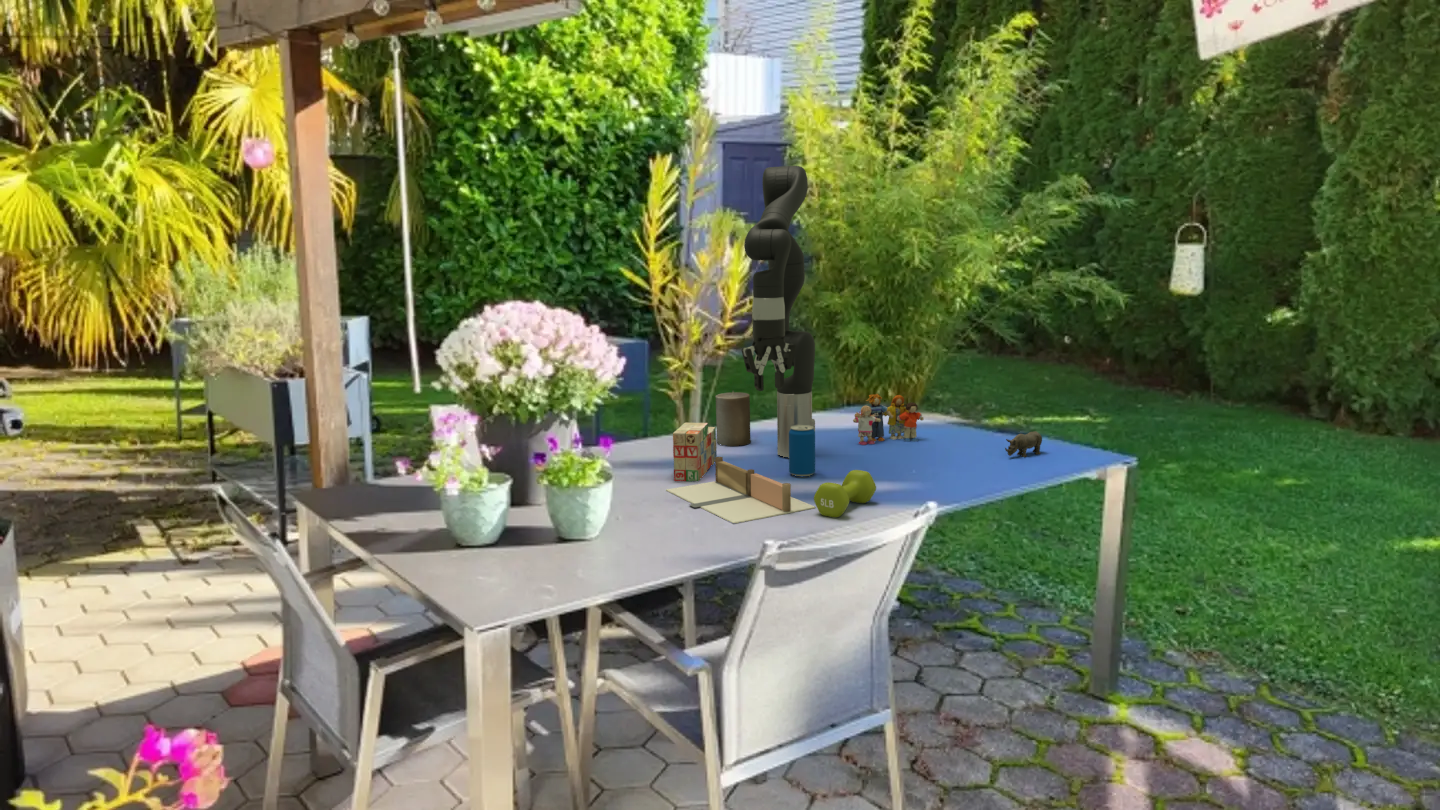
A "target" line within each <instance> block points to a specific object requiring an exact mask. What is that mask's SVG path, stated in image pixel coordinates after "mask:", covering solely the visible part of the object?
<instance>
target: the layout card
mask: <svg viewBox="0 0 1440 810" xmlns="http://www.w3.org/2000/svg"><path fill="white" fill-rule="evenodd" d="M730 489H731V490H730ZM665 492H668V493H670V494H671V495H674V496H676V497H678V498H680V499H682V500H683V501H686V502H688V503H690V504H689V506H690V507H692V508H701V509H702V510H705V511H706V512H708V513H710V514H712V515H714V514H715V515H714V516H716V515H717V516H716V517H718V516H719V518H720V517H721V519H722V518H723V520H724V519H725V521H726V520H727V522H728V521H730V522H732V523H736V524H740V523H739V522H741V523H745V521H746V522H750V521H756V520H761V519H766V518H772V517H776V516H777V517H778V516H782V515H787V514H792V513H798V512H802V511H808V510H813V509H816V505H815V506H814V505H812V504H810V503H807V502H805V501H802V500H800V499H798V498H794V497H793V496H791V511H783V510H781V509H779V508H777V507H774V506H772V505H770V504H767V503H765V502H763V501H761V500H758V499H756V498H754V497H751V496H748V494H747V495H745V494H743V493H741V492H739V491H736V490H734V489H732V488H729V487H727V486H725V485H723V484H720V483H718V482H716V480H715V481H710V482H702V483H696V484H690V485H686V486H685V485H684V486H679V487H678V486H677V487H673V488H667V489H666V490H665ZM730 522H729V523H730ZM732 523H731V524H732Z"/></svg>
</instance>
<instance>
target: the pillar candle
mask: <svg viewBox="0 0 1440 810" xmlns="http://www.w3.org/2000/svg"><path fill="white" fill-rule="evenodd" d="M750 399H751V398H750V394H749V393H747V392H735V391H734V390H732V392H724V393H719V394H716V395H715V415H716V416H715V417H716V419H715V420H716V444H718V445H720V444H721V445H720V446H723V445H727V446H726V447H738V446H739V445H740V446H747V445H749V444H751V443H752V440H751V403H750V401H751V400H750Z"/></svg>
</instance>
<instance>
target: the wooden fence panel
mask: <svg viewBox="0 0 1440 810" xmlns="http://www.w3.org/2000/svg"><path fill="white" fill-rule="evenodd" d="M714 466H715V467H714V468H715V481H716V482H718V483H720V484H723V485H725V486H727V487H729V488H732V489H734V490H736V491H739V492H741V493H743V494H745V495H747V494H748V496H751V474H755V469H753V468H749V469H745V468H742V467H740V466H737V465H734V464H732V463H730V462H727V461H724V457H723V456H717V457H715V463H714Z"/></svg>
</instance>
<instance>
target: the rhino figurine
mask: <svg viewBox="0 0 1440 810" xmlns="http://www.w3.org/2000/svg"><path fill="white" fill-rule="evenodd" d="M1006 441H1007V442H1008V443H1009V445H1008V446H1007V447H1004V450H1005V452H1006V453H1007V455H1008V456H1009V457H1011V456H1013V455H1014V454H1015V453H1016V452H1017V451H1018V452H1017V453H1016V455H1017V456H1020V457H1022V458H1027V456H1028V455H1027V450H1028V449H1029V450H1030V449H1032V453H1034V454H1035V455H1036V456H1037V455H1041V451H1040V450H1041V445H1042V442H1043V436H1042V435H1041V433H1039V432H1038V431H1030V432H1028V433H1026V434H1023V433H1019V434H1017V435H1016V436H1014V437H1013V438H1012V439H1008V438H1006Z"/></svg>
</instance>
